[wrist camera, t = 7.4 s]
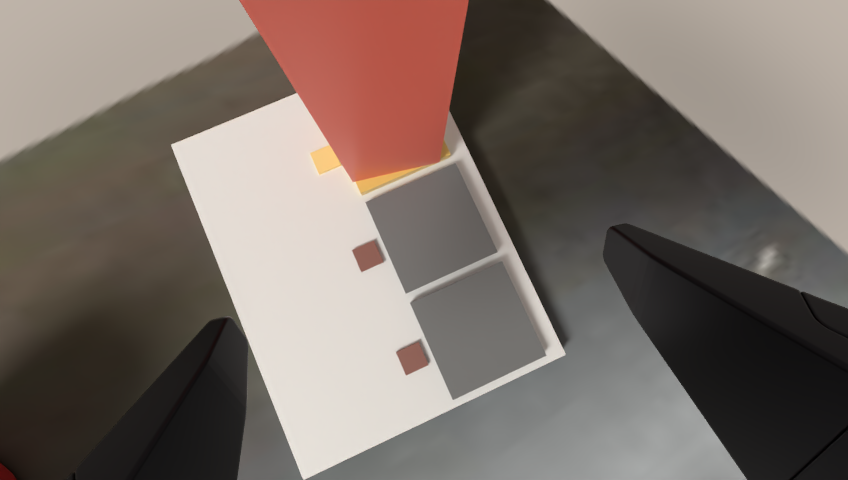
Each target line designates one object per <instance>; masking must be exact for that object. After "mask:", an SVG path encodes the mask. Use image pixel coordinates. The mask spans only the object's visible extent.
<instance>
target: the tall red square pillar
mask: <svg viewBox="0 0 848 480" xmlns="http://www.w3.org/2000/svg"><path fill="white" fill-rule="evenodd" d="M239 1H240V2H241V4H242V5H243V7H244V8H245V10H246V12H247V13H248V15H249V17H250V18H251V20H252V21H253V23H254V25H255V26H256V28H257V29H258V31H259V33H260V34H261V36H262V37H263V39H264V41H265V42H266V44H267V45H268V47H269V49H270V50H271V52H272V53H273V55H274V57H275V58H276V60H277V61H278V63H279V65H280V66H281V68H282V69H283V71H284V73H285V74H286V76H287V77H288V79H289V81H290V82H291V84H292V85H293V87H294V89H295V90H296V92H297V93H298V95H299V97H300V98H301V100H302V101H303V103H304V105H305V106H306V108H307V109H308V111H309V113H310V114H311V116H312V117H313V119H314V121H315V122H316V124H317V125H318V127H319V129H320V130H321V132H322V133H323V135H324V137H325V138H326V140H327V141H328V143H329V145H330V146H331V148H332V149H333V151H334V153H335V154H336V156H337V157H338V159H339V161H340V162H341V164H342V165H343V167H344V169H345V170H346V172H347V173H348V175H349V177H350V178H351V180H352V182H356V181H360V180H365V179H369V178H373V177H378V176H382V175H386V174H391V173H395V172H399V171H404V170H408V169H412V168H417V167H421V166H425V165H430V164H434V163H438V162H440V157H441V151H442V146H443V140H444V135H445V129H446V124H447V118H448V113H449V107H450V101H451V96H452V90H453V85H454V79H455V74H456V68H457V63H458V57H459V52H460V46H461V41H462V35H463V30H464V24H465V18H466V13H467V7H468V2H469V0H239Z"/></svg>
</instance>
